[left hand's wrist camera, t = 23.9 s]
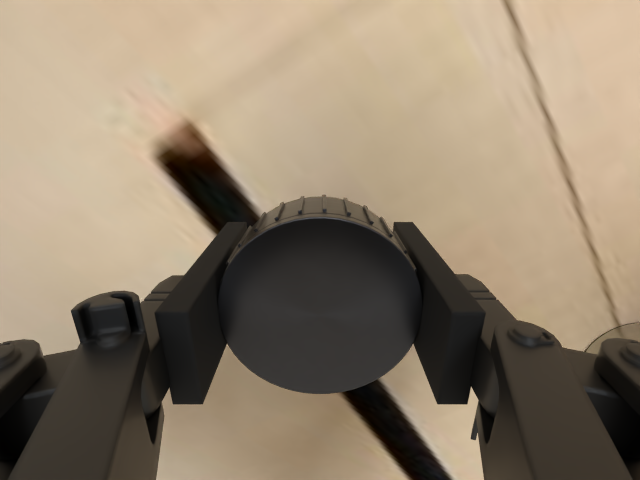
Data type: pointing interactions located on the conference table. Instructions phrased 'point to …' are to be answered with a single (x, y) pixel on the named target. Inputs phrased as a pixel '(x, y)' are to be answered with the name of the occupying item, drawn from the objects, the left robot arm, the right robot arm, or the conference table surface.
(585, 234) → the conference table surface
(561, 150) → the conference table surface
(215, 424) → the conference table surface
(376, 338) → the lid
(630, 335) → the silver metal cylinder
